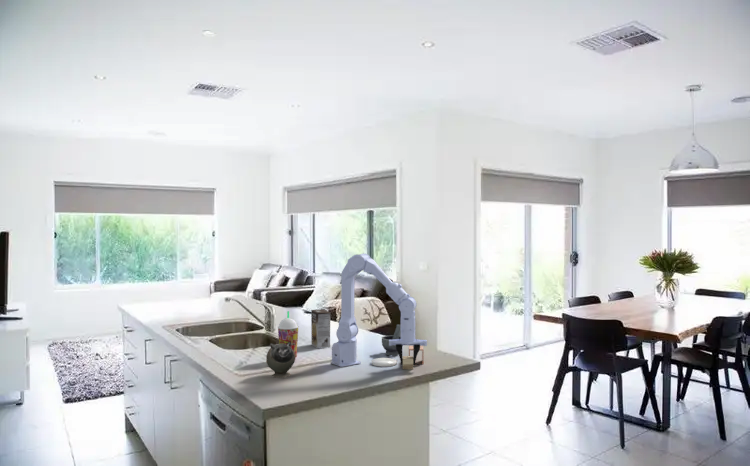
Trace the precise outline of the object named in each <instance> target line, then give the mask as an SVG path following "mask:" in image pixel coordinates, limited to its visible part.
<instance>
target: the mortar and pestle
mask: <svg viewBox="0 0 750 466" xmlns="http://www.w3.org/2000/svg"><path fill="white" fill-rule="evenodd" d="M395 327H396V328H395V330H394V333H393V335H385V336H381V345H382V348H383V349H384V350H385V355H387V356H399V354H398V351H397V349H396V345H392V346H389V340H394V339H401V324H396V326H395ZM403 346H404V345H402V348H403Z"/></svg>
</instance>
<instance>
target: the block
mask: <svg viewBox="0 0 750 466" xmlns="http://www.w3.org/2000/svg"><path fill="white" fill-rule="evenodd" d="M402 358H403V365H402V370H414V365H413V355H412V356H411V355H410V356H409V355H408V356H407V355H405V356H404V355H402Z"/></svg>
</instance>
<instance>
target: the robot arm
mask: <svg viewBox="0 0 750 466" xmlns="http://www.w3.org/2000/svg"><path fill="white" fill-rule="evenodd" d="M361 272H364V273H369V274H371V275H372V276H374V277H375V278H376V279H377V280H378V281H379V283H380V284H382V285H383V286H384V287H385V293H386V295H388V296H389V297H390V299H391V300H393V302H394V303H395V304H396V305H397V306H398V309H399V311H400V325H401V332H400V336H401V339H394V340H389V346H392V345H396V349H397V351H398V354H399V355H398V357H399V360H400V365H402V366H403V347H402V345H403V346H413V350H412V351H413V353H412V354H413V355H412V356H413V366H415V365H416V360H417V356H418V354H419V350H420V346H423V347H427V346H428V340H427V339H416V309H417V301H416V299H415V297H413V296H411V293H407V292H406V290H405V289H404V288H403V285H402V284H401V283H398V282H395V281H392V280H391V279H390V278H389V276H388V275H387V274H386V273H385V271H384V270H383V269H382V268H381V266H380V265H378V263H377V262H376V261H375V259H373V258H371V256H370V255H369V254H367V253H364V252H363V253H360V254H354V255H352V256H351V257H350V258H348V259H347V262H346V263H345V265H344V267H343V269H342V271H341V280H340V281H341V282H340V283H341V287H340V288H341V289H340V290H341V293H340V294H341V296H340V299H341V302H340V303H341V304H340V305H341V307H340V310H341V312H340V313H341V314H340V319H339V321H338V327H337V329H336V331H335V332H336V334H335V335H336V338H337V342H334V343H333V344H332V346H331V361H330V364H333V365H336V366H338V367H341V368H343V367H349V366H354V365H358V364H361V363H362V362H361V361H359V360H357V359H358V358H357V357H358V356H357V351H358V350H357V335H358V334H359V327H358V325H357V319H356V317H355V278H356V276H357V275H359V274H360V273H361Z"/></svg>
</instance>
